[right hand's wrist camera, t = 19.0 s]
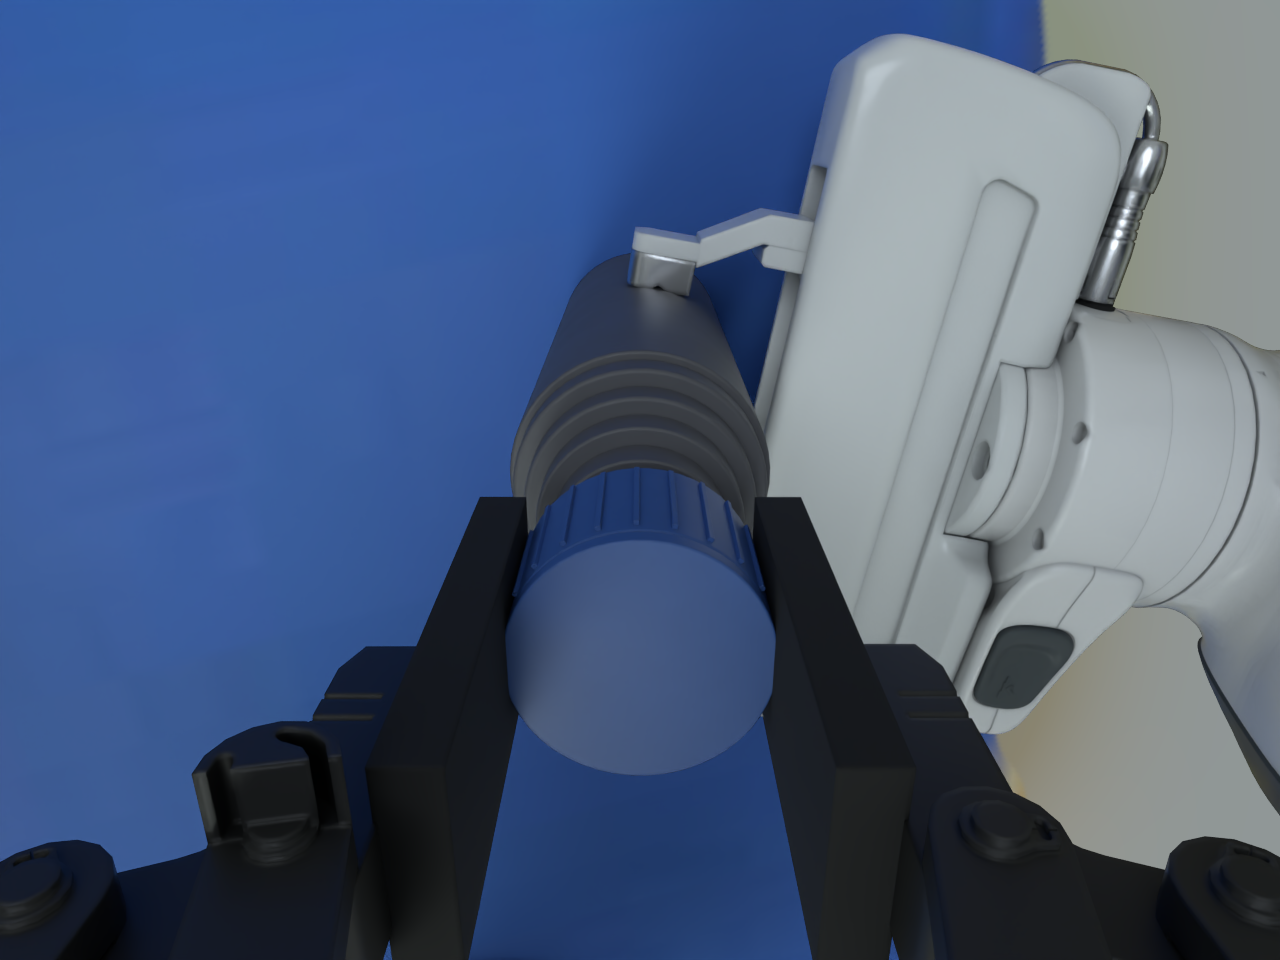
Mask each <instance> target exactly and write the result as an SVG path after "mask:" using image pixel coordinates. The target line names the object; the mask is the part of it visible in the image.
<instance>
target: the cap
mask: <svg viewBox="0 0 1280 960" xmlns="http://www.w3.org/2000/svg"><path fill="white" fill-rule="evenodd" d="M765 590H766V588H765V584H764V580H763V577H762V573H761V569H760V566H759V562H758V558H757V554H756V551H755V547H754V543H753V539H752V536H751V532H750V528H749V526H748V525H745V526H744V524H743V522H742V521H741V519H740V517H739V516H738V515H737V513H736V512H735V511H734V510H733V508H732V506H731V503H730V502H729V501H728V500H727V501H725V500H724V499H723V498H722V497H721V496H719V495H718V494H717V493H715V492H714V491H713V490H711V489H710V488H708V487H707V486H705V483H703V482H701V481H700V483H699V482H698V481H696V480H694V479H691V478H689V477H686V476H684V475H681V474H678V473H674V471H672V470H668V471H666V470H659V469H651V468H640V467H634V468H630V469H621V470H615V471H611V472H607V473H606V472H602V473H600V475H597V476H595V477H592V478H589V479H587V480H585V481H583V482H581V483H579V484H578V485H576V486H575V485H572V486H571V487H570V489H569V490H568V491H567V492H565V493H564V494H563V495H561V496H560V497H559V498H558V499H557V500H556V501H555V502H554V503H553V504H552V505H551V506H550V505H547V507H546V508H545V512H544V514H543V516H542V517H541V518H540V520H539V522H538V523H537V525H536V527H535V529H534V531H532V530H530V531H529V533H528V537H527V541H526V544H525V548H524V552H523V555H522V559H521V563H520V566H519V570H518V574H517V577H516V581H515V585H514V588H513V592H512V596H514V599H513V603H512V607H511V610H510V614H509V618H508V622H507V625H506V629H505V642H506V657H507V672H508V688H509V696H510V698H511V701H512V703H513V705H514V706H515V708H516V710H517V712H518V713H519V715H520V717H521V718H522V719H523V721H524V722H525V723H526V724H527V726H528V727H529V728H530V729H531V730H532V731H533V732H534V733H535V734H536V735H537V736H538V737H539V738H540V739H541V740H542V741H543V742H544V743H546V744H547V745H548V746H550V747H551V748H552V749H554V750H555V751H557V752H558V753H560V754H562V755H563V756H565V757H567V758H569V759H571V760H573V761H575V762H577V763H580V764H582V765H585V766H588V767H591V768H594V769H597V770H601V771H605V772H610V773H614V774H623V775H657V774H666V773H671V772H676V771H680V770H684V769H687V768H690V767H693V766H696V765H699V764H701V763H703V762H705V761H708V760H710V759H712V758H714V757H716V756H717V755H719V754H721V753H722V752H724V751H726V750H727V749H728V748H730V747H731V746H732V745H734V744H735V743H736V742H737V741H739V740H740V739H741V738H742V737H743V736H744V735H745V734H746V733H747V732H748V731H749V730H750V729H751V728H752V727H753V725H754V724H755V723H756V721H757V720H758V719H759V717H760V716H761V714H762V713H763V711H764V709H765V707H766V706H767V704H768V702H769V700H770V697H771V695H772V688H773V673H774V658H775V643H776V631H775V627H774V623H773V619H772V616H771V612H770V608H769V604H768V601H767V597H766V593H765Z"/></svg>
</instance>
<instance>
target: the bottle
mask: <svg viewBox="0 0 1280 960" xmlns="http://www.w3.org/2000/svg"><path fill="white" fill-rule="evenodd" d="M630 256H631V254H624V255H620V256H617V257H614V258H611V259H609V260H607V261H605V262H603V263H601V264H600V265H598V266H596V267H595V268H594V269H593V270H591V271H590V272H589V273H588V274H587V275H586V276H585V277H584V278H583V279H582V280H581V281H580V283H579V284H578V286H577V287H576V288H575V290H574V292H573V294H572V296H571V298H570V300H569V302H568V305H567V307H566V310H565V313H564V315H563V318H562V320H561V323H560V325H559V328H558V330H557V333H556V335H555V338H554V340H553V343H552V345H551V348H550V350H549V353H548V355H547V358H546V360H545V363H544V365H543V368H542V370H541V373H540V375H539V378H538V380H537V383H536V385H535V388H534V390H533V393H532V395H531V398H530V400H529V403H528V405H527V408H526V410H525V413H524V415H523V418H522V420H521V423H520V426H519V428H518V431H517V434H516V436H515V439H514V444H513V449H512V453H511V465H510V476H511V488H512V492H513V497H526V502H527V522H528V533H529V531H530V530H532V531H534V529H535V527H536V525H537V523H538V522H539V520H540V518H541V517H542V516H543V514H544V512H545V508H546V507H547V505H550V506H551V505H552V504H553V503H554V502H555V501H556V500H557V499H558V498H559V497H560V496H561V495H563V494H564V493H565V492H567V491H568V490H569V489H570V487H571V486H572V485H575V486H576V485H578V484H579V483H581V482H583V481H585V480H587V479H589V478H592V477H595V476H597V475H600V473H602V472H606V473H607V472H611V471H615V470H621V469H630V468H634V467H640V468H651V469H659V470H666V471H668V470H672V471H674V473H678V474H681V475H684V476H686V477H689V478H691V479H694V480H696V481H698V482H699V483H700V481H701V482H703V483H705V486H707V487H708V488H710V489H711V490H713V491H714V492H715V493H717V494H718V495H719V496H721V497H722V498H723V499H724V500H725V501H727V500H728V501H729V502H730V503H731V506H732V508H733V510H734V511H735V512H736V513H737V515H738V516H739V517H740V519H741V521H742V522H743V524H744V526H745V525H748V526H749V528H750V532H751V536H752V539H753V521H754V502H755V497H767V494H768V489H769V484H770V460H769V451H768V447H767V442H766V438H765V435H764V432H763V430H762V427H761V425H760V422H759V420H758V417H757V415H756V412H755V410H754V407H753V405H752V402H751V400H750V397H749V395H748V392H747V390H746V387H745V385H744V382H743V380H742V377H741V375H740V372H739V370H738V367H737V365H736V362H735V360H734V357H733V355H732V352H731V350H730V347H729V345H728V342H727V340H726V337H725V335H724V332H723V330H722V327H721V325H720V322H719V319H718V317H717V314H716V312H715V309H714V307H713V304H712V302H711V299H710V297H709V295H708V293H707V291H706V290H705V288H704V286H703V285H702V284H701V282H700V281H699V280H698V279H697V278H696V277H695V276H694V275H693V279H692V284H691V288H690V293H689V296H684V295H678V294H673V293H670V292H666V291H664V290H663V289H662V288H661V287H660V286H659V285H658V286H656V287H654V288H652V289H649V288H639V287H636V286H632V285H629V284H628V283H627V275H628V269H629V262H630Z"/></svg>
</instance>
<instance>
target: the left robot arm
mask: <svg viewBox="0 0 1280 960" xmlns="http://www.w3.org/2000/svg"><path fill="white" fill-rule="evenodd" d="M1142 120H1143V135H1142V138H1137V137H1136V136H1137V134H1138V131H1139V128H1140V125H1141V122H1142ZM1160 124H1161V117H1160V110H1159V106H1158V102H1157V100H1156V98H1155V95H1154V93H1153V92H1152V90H1151V89H1150V87H1149V85H1148V84H1147V83H1146V82H1145V81H1144V80H1143V79H1141V78H1140V77H1139V76H1137V75H1136V74H1134V73H1132V72H1129V71H1127V70H1125V69H1120V68H1115V67H1110V66H1105V65H1101V64H1096V63H1091V62H1086V61H1081V60H1061V61H1055V62H1052V63H1049V64H1046V65H1044V66H1042V67H1040V68H1038V69H1036V70H1034V71H1033V72H1029V71H1027V70H1024V69H1022V68H1019V67H1017V66H1014V65H1011V64H1009V63H1006V62H1003V61H1000V60H998V59H995V58H992V57H989V56H986V55H984V54H980V53H977V52H974V51H971V50H968V49H964V48H961V47H958V46H954V45H950V44H947V43H943V42H939V41H936V40H932V39H928V38H924V37H919V36H914V35H909V34H888V35H883V36H879V37H877V38H874V39H872V40H870V41H869V42H867V43H865V44H863V45H862V46H860V47H859V48H857V49H856V50H854V51H853V52H851V53H850V54H849V55H847V56H846V57H844V58H843V59H842V60H840V61H839V62H838V63H837V64H836V66H835V68H834V69H833V72H832V74H831V78H830V82H829V86H828V91H827V95H826V99H825V103H824V108H823V112H822V116H821V120H820V125H819V129H818V133H817V137H816V142H815V146H814V150H813V155H812V159H811V163H810V167H809V172H808V176H807V180H806V184H805V189H804V193H803V197H802V202H801V206H800V210H799V214H793V213H787V212H782V211H776V210H770V209H765V208H759V209H756V210H753V211H751V212H748V213H745V214H743V215H740V216H738V217H735V218H732V219H730V220H727V221H724V222H722V223H719V224H716V225H714V226H711V227H709V228H706V229H703V230H701V231H698V232H697V235H696V236H693V235H687V234H682V233H676V232H671V231H665V230H660V229H654V228H649V227H635V232H634V239H633V244H632V250H631V256H630V262H629V269H628V275H627V283H628V284H629V285H632V286H636V287H639V288H649V289H652V288H654V287H656V286H658V285H659V286H660V287H661V288H662V289H663V290H664V291H666V292H670V293H673V294H678V295H684V296H689V293H690V288H691V284H692V279H693V275H694V270H695V266H696V268H698V267H701V266H704V265H706V264H709V263H712V262H715V261H718V260H721V259H724V258H726V257H729V256H732V255H735V254H738V253H741V252H743V251H746V250H749V249H752V248H753V250H752V252H753V254H754V256H755V257H756V258H757V259H758V260H759V261H760V263H761V264H762V265H763V266H764V267H767V268H772V269H777V270H782V271H785V274H784V278H783V283H782V287H781V291H780V295H779V300H778V304H777V308H776V313H775V317H774V321H773V325H772V330H771V334H770V338H769V342H768V347H767V351H766V355H765V359H764V364H763V368H762V372H761V377H760V381H759V385H758V389H757V394H756V398H755V402H754V406H753V407H754V410H755V412H756V415H757V417H758V420H759V422H760V425H761V427H762V430H763V432H764V435H765V438H766V442H767V447H768V451H769V460H770V484H769V489H768V494H767V497H801V498H802V501H803V503H804V505H805V508H806V510H807V512H808V515H809V517H810V519H811V522H812V524H813V526H814V529H815V531H816V533H817V536H818V538H819V540H820V543H821V545H822V547H823V550H824V552H825V554H826V557H827V559H828V561H829V564H830V566H831V568H832V571H833V573H834V576H835V578H836V580H837V583H838V585H839V587H840V590H841V592H842V594H843V597H844V599H845V601H846V604H847V606H848V608H849V611H850V613H851V615H852V618H853V620H854V622H855V625H856V627H857V629H858V632H859V634H860V636H861V639H862V641H863V643H864V644H916V645H917V646H918V647H920V648H921V649H922V650H923V651H925V652H926V653H927V654H928V655H930V656H931V657H932V658H934V659H935V660H936V661H937V662H939V663H940V664H941V665H942V666H943V667H944V669H945V671H946V673H947V674H948V676H949V678H950V680H951V682H952V683H953V685H954V687H955V689H956V691H957V696H960V698H961V700H962V701H963V703H964V705H965V707H966V709H967V710H968V712H969V718H972V719H973V721H974V723H975V725H976V727H977V728H978V730H979V732H980V733H985V734H1002V733H1006V732H1008V731H1010V730H1012V729H1014V728H1015V727H1016V726H1018V725H1019V724H1020V723H1021V722H1022V721H1023V720H1024V719H1025V718H1026V717H1027V716H1028V715H1029V713H1030V712H1031V711H1032V710H1033V709H1034V708H1035V706H1036V705H1037V704H1038V703H1039V701H1040V700H1041V699H1042V698H1043V697H1044V695H1045V694H1046V693H1047V692H1048V691H1049V690H1050V688H1051V687H1052V686H1053V685H1054V684H1055V683H1056V681H1057V680H1058V679H1059V678H1060V677H1061V676H1062V675H1063V673H1064V672H1065V671H1066V670H1067V669H1068V668H1069V667H1070V666H1071V665H1072V664H1073V662H1074V661H1075V660H1076V659H1077V658H1078V657H1079V656H1080V655H1081V654H1082V653H1083V652H1084V651H1085V650H1086V649H1087V648H1088V647H1089V646H1090V645H1091V644H1092V643H1093V642H1094V641H1095V640H1096V639H1097V638H1098V637H1099V636H1100V635H1101V634H1102V633H1103V632H1104V631H1106V630H1107V629H1108V628H1109V627H1110V626H1111V625H1112V624H1114V623H1115V622H1116V621H1117V620H1118V619H1119V618H1120V617H1122V616H1123V615H1124V614H1125V613H1126V612H1127V611H1128V610H1129V609H1130V608H1131V607H1136V608H1139V607H1163V608H1170V609H1173V610H1176V611H1178V612H1180V613H1182V614H1184V615H1185V616H1187V617H1188V618H1189V619H1190V620H1192V621H1193V622H1194V623H1195V624H1196V625H1197V626H1198V628H1199V629H1200V632H1201V634H1202V637H1201V638H1200V639H1199V641H1198V652H1199V655H1200V658H1201V662H1202V665H1203V668H1204V670H1205V673H1206V675H1207V678H1208V680H1209V683H1210V685H1211V687H1212V689H1213V691H1214V694H1215V696H1216V698H1217V700H1218V702H1219V705H1220V707H1221V709H1222V711H1223V713H1224V715H1225V717H1226V719H1227V721H1228V723H1229V725H1230V727H1231V729H1232V731H1233V733H1234V736H1235V738H1236V740H1237V742H1238V744H1239V747H1240V749H1241V751H1242V753H1243V755H1244V757H1245V759H1246V761H1247V763H1248V765H1249V767H1250V770H1251V772H1252V774H1253V775H1254V777H1255V779H1256V781H1257V783H1258V784H1259V786H1260V788H1261V789H1262V791H1263V792H1264V794H1265V796H1266V797H1267V799H1268V800H1269V801H1270V803H1271V804H1272V806H1273V807H1274V808H1275V810H1276V811H1277V812H1278V814H1279V815H1280V350H1276V351H1272V350H1264V349H1260V348H1257V347H1254V346H1252V345H1250V344H1248V343H1247V342H1245V341H1243V340H1242V339H1240V338H1238V337H1236V336H1234V335H1232V334H1230V333H1228V332H1225V331H1223V330H1220V329H1218V328H1214V327H1211V326H1208V325H1203V324H1197V323H1192V322H1187V321H1182V320H1176V319H1170V318H1165V317H1160V316H1154V315H1148V314H1143V313H1138V312H1132V311H1127V310H1122V309H1116V308H1115V307H1113V304H1114V301H1115V299H1116V296H1117V294H1118V291H1119V288H1120V286H1121V283H1122V280H1123V277H1124V275H1125V272H1126V269H1127V267H1128V264H1129V261H1130V259H1131V256H1132V252H1133V249H1134V246H1135V243H1134V241H1135V240H1136V238H1137V232H1136V231H1137V230H1138V229H1139V226H1140V222H1139V221H1140V220H1141V219H1142V215H1143V212H1142V211H1143V210H1144V209H1145V207H1146V205H1147V202H1148V200H1149V197H1150V195H1151V194H1154V192H1155V190H1156V188H1157V186H1158V184H1159V181H1160V179H1161V176H1162V174H1163V170H1164V167H1165V163H1166V159H1167V153H1168V144H1167V143H1166V142H1163V141H1158V139H1159V135H1160ZM761 716H762V717H763V715H762V714H761Z"/></svg>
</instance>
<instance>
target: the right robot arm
mask: <svg viewBox="0 0 1280 960" xmlns="http://www.w3.org/2000/svg"><path fill="white" fill-rule="evenodd" d="M527 537H528V522H527V502H526V497H480V498H479V501H478V503H477V505H476V508H475V510H474V512H473V515H472V517H471V519H470V522H469V524H468V526H467V529H466V531H465V533H464V536H463V538H462V540H461V543H460V545H459V547H458V550H457V552H456V554H455V557H454V559H453V561H452V564H451V566H450V569H449V571H448V573H447V576H446V578H445V580H444V583H443V585H442V587H441V590H440V592H439V594H438V597H437V599H436V601H435V604H434V606H433V608H432V611H431V613H430V615H429V618H428V620H427V622H426V625H425V627H424V630H423V632H422V634H421V637H420V639H419V641H418V644H417V646H377V647H365V648H364V649H363V650H361V651H360V652H359V653H358V654H356V655H355V656H354V657H353V658H351V659H350V660H349V661H348V662H346V663H345V664H344V665H343V666H341V667H340V668H339V669H338V671H337V673H336V674H335V676H334V678H333V680H332V682H331V683H330V685H329V687H328V689H327V691H326V692H325V698H324V699H322V700H321V702H320V703H319V705H318V707H317V709H316V711H315V712H314V714H313V720H312V721H310V722H306V721H280V722H275V723H271V724H266V725H262V726H257V727H253V728H250V729H248V730H246V731H244V732H241V733H239V734H237V735H235V736H232V737H230V738H228V739H226V740H224V741H223V742H222V743H221V744H219V745H218V746H217V747H215V748H214V749H213V750H211V751H210V752H209V753H207V754H206V755H205V756H204V757H203V758H202V760H201V761H200V763H199V764H198V766H197V767H196V769H195V770H194V771H193V773H192V778H193V782H194V787H195V791H196V795H197V799H198V804H199V808H200V812H201V816H202V820H203V825H204V829H205V833H206V837H207V842H208V845H207V848H206V849H204V850H202V851H200V852H197V853H194V854H191V855H187V856H184V857H181V858H178V859H174V860H170V861H166V862H162V863H157V864H153V865H149V866H145V867H141V868H137V869H132V870H128V871H124V872H120V873H117V871H116V868H115V865H114V861H113V858H112V856H111V855H110V854H109V853H108V852H107V851H105V850H104V849H103V848H102V847H101V846H100V845H98V844H94V843H89V842H85V841H80V840H70V841H61V842H51V843H46V844H43V845H40V846H37V847H34V848H31V849H28V850H25V851H22V852H19V853H16V854H14V855H12V856H10V857H9V858H7V859H5V860H3V861H1V862H0V960H383V958H384V955H385V952H386V948H387V945H388V942H389V940H390V947H391V954H392V960H468V959H469V954H470V949H471V944H472V939H473V934H474V929H475V924H476V920H477V915H478V910H479V905H480V900H481V895H482V890H483V885H484V880H485V876H486V871H487V866H488V861H489V856H490V851H491V846H492V841H493V836H494V832H495V827H496V822H497V817H498V812H499V807H500V802H501V797H502V792H503V788H504V783H505V778H506V773H507V768H508V763H509V758H510V753H511V748H512V744H513V739H514V734H515V729H516V724H517V719H518V714H519V713H518V712H517V710H516V708H515V706H514V705H513V703H512V701H511V698H510V696H509V688H508V672H507V657H506V642H505V629H506V625H507V622H508V618H509V614H510V610H511V607H512V603H513V599H514V596H512V592H513V588H514V585H515V581H516V577H517V574H518V570H519V566H520V563H521V559H522V555H523V552H524V548H525V544H526V541H527ZM753 543H754V547H755V551H756V554H757V558H758V562H759V566H760V569H761V573H762V577H763V580H764V584H765V588H766V590H765V593H766V597H767V601H768V604H769V608H770V612H771V616H772V619H773V623H774V627H775V631H776V643H775V658H774V673H773V688H772V695H771V697H770V700H769V702H768V704H767V706H766V707H765V709H764V711H763V713H762V715H763V719H764V724H765V729H766V734H767V739H768V744H769V749H770V754H771V759H772V763H773V768H774V773H775V778H776V783H777V788H778V793H779V798H780V803H781V807H782V812H783V817H784V822H785V827H786V832H787V837H788V842H789V846H790V851H791V856H792V861H793V866H794V871H795V876H796V881H797V886H798V890H799V895H800V900H801V905H802V910H803V915H804V920H805V925H806V930H807V934H808V939H809V944H810V949H811V954H812V959H813V960H889V954H890V947H891V940H892V938H893V941H894V944H895V947H896V951H897V954H898V957H899V960H1280V857H1278V856H1277V855H1275V854H1273V853H1271V852H1269V851H1267V850H1265V849H1262V848H1259V847H1256V846H1253V845H1250V844H1247V843H1244V842H1241V841H1238V840H1235V839H1225V838H1216V837H1206V836H1205V837H1200V838H1196V839H1191V840H1186V841H1183V842H1181V843H1180V844H1179V845H1178V846H1177V847H1176V848H1175V849H1174V850H1173V851H1172V852H1171V853H1170V855H1169V858H1168V862H1167V865H1166V869H1165V870H1163V869H1159V868H1155V867H1151V866H1146V865H1142V864H1138V863H1134V862H1130V861H1126V860H1121V859H1117V858H1113V857H1109V856H1105V855H1101V854H1098V853H1095V852H1092V851H1089V850H1086V849H1082V848H1080V847H1078V846H1076V845H1074V844H1072V842H1071V840H1070V838H1069V837H1068V835H1067V833H1066V832H1065V830H1064V829H1063V827H1062V825H1061V824H1060V822H1058V821H1057V820H1056V819H1055V818H1054V817H1052V816H1051V815H1050V814H1049V813H1048V812H1047V811H1045V810H1044V809H1043V808H1042V807H1041V806H1039V805H1037V804H1035V803H1033V802H1031V801H1029V800H1027V799H1025V798H1023V797H1021V796H1019V795H1017V794H1015V793H1013V792H1012V790H1011V788H1010V786H1009V784H1008V783H1007V781H1006V779H1005V777H1004V775H1003V774H1002V772H1001V770H1000V768H999V766H998V764H997V763H996V761H995V759H994V757H993V755H992V754H991V752H990V750H989V748H988V746H987V745H986V743H985V741H984V739H983V737H982V736H981V734H980V732H979V730H978V728H977V727H976V725H975V723H974V721H973V719H972V718H969V712H968V710H967V709H966V707H965V705H964V703H963V701H962V700H961V698H960V696H957V691H956V689H955V687H954V685H953V683H952V682H951V680H950V678H949V676H948V674H947V673H946V671H945V669H944V667H943V666H942V665H941V664H940V663H939V662H937V661H936V660H935V659H934V658H932V657H931V656H930V655H928V654H927V653H926V652H925V651H923V650H922V649H921V648H920V647H918V646H917V645H916V644H864V643H863V641H862V639H861V636H860V634H859V632H858V629H857V627H856V625H855V622H854V620H853V618H852V615H851V613H850V611H849V608H848V606H847V604H846V601H845V599H844V597H843V594H842V592H841V590H840V587H839V585H838V583H837V580H836V578H835V576H834V573H833V571H832V568H831V566H830V564H829V561H828V559H827V557H826V554H825V552H824V550H823V547H822V545H821V543H820V540H819V538H818V536H817V533H816V531H815V529H814V526H813V524H812V522H811V519H810V517H809V515H808V512H807V510H806V508H805V505H804V503H803V501H802V498H801V497H755V502H754V521H753Z"/></svg>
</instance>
